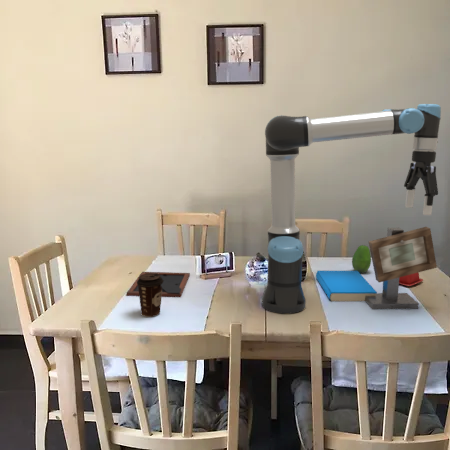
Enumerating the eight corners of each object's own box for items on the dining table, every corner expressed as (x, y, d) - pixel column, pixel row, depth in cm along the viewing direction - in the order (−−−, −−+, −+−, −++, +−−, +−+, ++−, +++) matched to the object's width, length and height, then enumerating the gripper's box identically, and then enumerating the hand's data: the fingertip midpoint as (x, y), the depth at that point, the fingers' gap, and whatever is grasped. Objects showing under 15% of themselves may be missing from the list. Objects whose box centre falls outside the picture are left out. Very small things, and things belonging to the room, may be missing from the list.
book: (357, 270, 194) (377, 291, 170) (356, 280, 195) (376, 302, 170) (315, 270, 194) (330, 291, 169) (315, 280, 195) (329, 302, 170)
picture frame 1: (180, 298, 173) (189, 276, 197) (180, 293, 173) (189, 272, 197) (126, 297, 174) (142, 275, 198) (126, 292, 174) (142, 271, 198)
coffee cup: (165, 308, 162) (164, 272, 160) (163, 318, 154) (162, 280, 152) (139, 308, 162) (138, 272, 159) (136, 318, 154) (134, 280, 151)
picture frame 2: (379, 283, 160) (372, 244, 157) (376, 279, 163) (368, 241, 160) (437, 268, 159) (431, 228, 156) (432, 265, 163) (426, 226, 160)
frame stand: (372, 309, 163) (378, 232, 157) (362, 298, 173) (368, 226, 167) (418, 308, 164) (425, 232, 158) (406, 298, 173) (413, 226, 167)
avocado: (372, 275, 199) (374, 247, 197) (353, 274, 199) (355, 247, 197) (367, 269, 207) (369, 242, 205) (349, 269, 207) (350, 242, 205)
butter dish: (383, 281, 192) (384, 261, 190) (398, 275, 199) (400, 256, 197) (409, 289, 183) (411, 268, 182) (424, 283, 191) (426, 262, 189)
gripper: (454, 153, 151) (446, 218, 156) (418, 148, 176) (412, 204, 180) (431, 152, 151) (424, 218, 155) (398, 148, 175) (392, 204, 180)
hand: (417, 211), depth 168 cm, fingers open, 13 cm apart
